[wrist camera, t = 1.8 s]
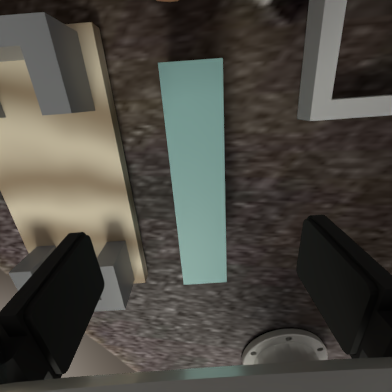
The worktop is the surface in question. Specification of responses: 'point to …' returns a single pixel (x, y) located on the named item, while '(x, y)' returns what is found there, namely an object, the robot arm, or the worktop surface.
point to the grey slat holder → (60, 104)
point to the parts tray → (330, 69)
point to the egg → (167, 0)
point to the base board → (67, 162)
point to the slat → (197, 164)
